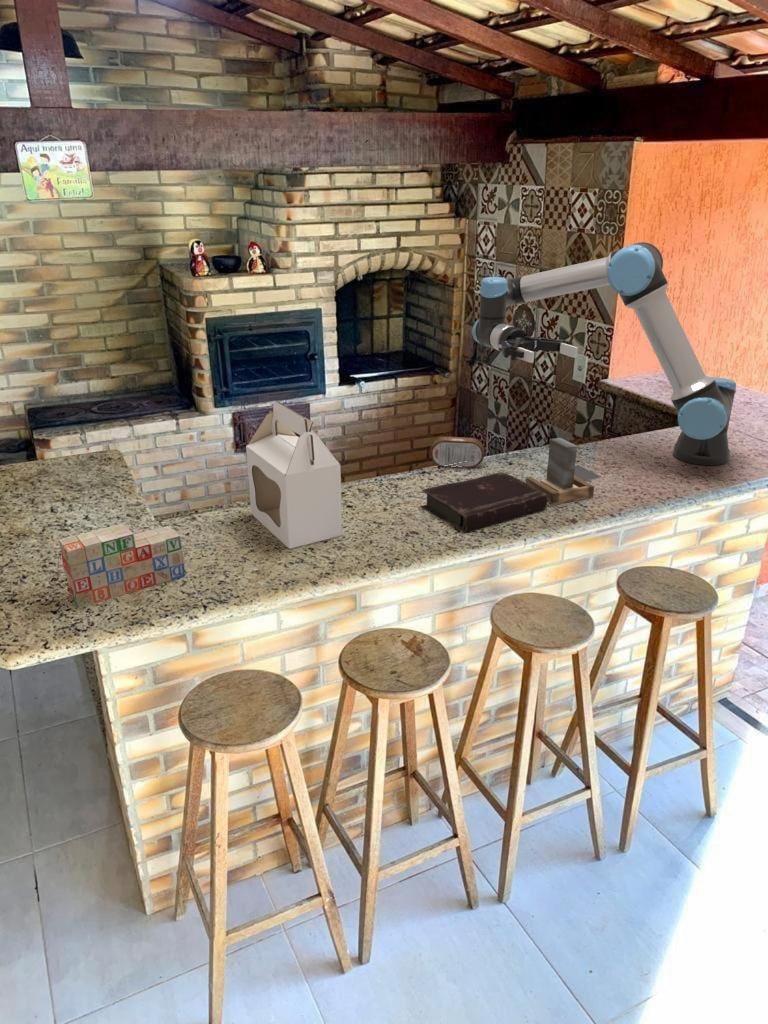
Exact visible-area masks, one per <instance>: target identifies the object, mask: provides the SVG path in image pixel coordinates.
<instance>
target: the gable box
mask: <svg viewBox="0 0 768 1024" xmlns="http://www.w3.org/2000/svg"><path fill="white" fill-rule="evenodd" d="M272 403H273V406H272V407H273V408H272V410H269V412H268V413H267V414H266V415H265V416H264V418H263V420H262V421H261V422H260V424H259V425H258V427H257V429H256V430H255V431H254V434H253V435H252V437H251V438H250V440H249V441H248V443H247V445H246V447H245V450H246V460H247V461H246V462H247V463H246V464H247V473H248V476H247V477H248V489H249V497H250V498H249V500H250V501H249V502H250V512H251V515H252V516H253V517H254V518H255V519H256V520H257V521H258V522H259V523H260V524H262V525H263V526H264V527H265V528H266V529H267V530H268V531H269V532H270V533H272V535H273V536H274V537H276V538H277V539H278V541H280V542H281V543H282V544H284V546H286V548H288V549H289V550H291V549H296V548H298V547H303V546H306V545H311V544H314V543H318V542H321V541H322V542H323V541H327V540H330V539H333V538H334V539H335V538H337V537H341V536H342V535H343V524H342V523H343V521H342V517H343V516H342V485H341V484H342V478H341V477H342V476H341V473H342V471H341V463H340V461H338V460H337V459H336V458H335V457H334V455H333V454H332V453H331V451H330V450H329V448H328V447H327V446H326V445H325V444H324V442H323V441H322V439H321V438H320V437H319V436H318V434H317V433H315V432H314V431H311V429H312V427H313V424H314V421H312V420H310V419H309V418H307V417H305V416H304V415H303V414H300V413H298V412H297V411H295V410H294V409H292V408H290V407H289V406H287V405H285V404H283V403H282V402H280V401H279V400H274V401H273V402H272ZM296 434H298V435H299V436H297V435H296ZM311 461H312V462H313V464H311Z"/></svg>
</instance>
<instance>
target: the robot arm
mask: <svg viewBox="0 0 768 1024" xmlns="http://www.w3.org/2000/svg"><path fill="white" fill-rule="evenodd" d="M663 268H664V259H663V255H662V252H661V251H660V250H659V249H658V248H657V246H655V245H654V244H652V243H649V242H641V241H640V242H635V243H632V244H629V245H626V246H624V247H622V248H621V249H619V250H615V251H611V252H610V253H609V254H608V256H606V257H602V258H597V259H592V260H589V261H584V262H580V263H576V264H571V265H566V266H562V267H557V268H554V269H549V270H546V271H541V272H539V271H538V272H536V273H531V274H528V275H527V274H526V275H523V276H519V277H515V278H514V277H511V278H510V277H509V278H506V277H503V276H502V277H501V276H489V277H483V278H482V280H481V283H480V289H479V294H480V295H479V297H480V298H479V317H478V319H477V320H476V321H475V322H474V324H473V327H472V329H471V335H472V339H473V340H474V341H475V342H477V343H478V344H480V345H482V346H484V347H487V348H491V349H494V350H496V351H499V352H501V354H502V356H503V357H504V358H509V357H510V360H511V361H516V360H517V359H519V360H522V361H523V362H527V363H530V364H533V363H534V361H535V359H534V358H535V353H536V352H540V351H543V352H544V351H547V352H557V353H559V354H561V355H564V356H567V357H569V358H570V357H571V358H573V359H577V358H578V355H579V354H578V353H579V352H578V351H579V347H578V346H574V345H571V344H570V341H568V340H566V339H562V340H561V339H553V338H548V337H547V338H546V337H543V336H542V337H541V336H537V337H532V336H528V334H527V332H526V331H525V330H524V329H522V328H519V327H516V326H514V325H510V324H506V315H507V308H509V307H511V306H515V305H519V304H524V303H528V302H533V301H538V300H544V299H548V298H554V297H558V296H564V295H569V294H572V293H577V292H578V293H579V292H582V291H588V290H592V289H598V288H602V287H607V286H610V287H611V288H612V290H614V292H615V293H617V294H618V296H619V297H620V299H621V301H622V303H623V305H624V307H625V308H629V309H631V310H634V313H635V315H636V317H637V319H638V320H639V323H640V324H641V327H642V329H643V331H644V334H645V335H646V338H647V339H648V342H649V343H650V345H651V347H652V349H653V352H654V354H655V356H656V358H657V359H658V362H659V365H660V367H661V368H662V370H663V372H664V374H665V376H666V378H667V380H668V382H669V385H670V386H671V388H672V394H671V396H670V400H671V404H672V405H673V407H674V408H675V409H674V410H676V413H677V423H678V427H679V429H680V430H681V432H680V434H679V436H678V438H677V440H676V442H675V444H674V446H673V449H672V455H673V456H674V457H675V458H676V459H678V460H680V461H682V462H684V463H685V462H686V463H689V464H694V465H698V466H699V465H701V466H722V465H724V464H726V463H729V460H730V455H731V450H730V449H729V439H728V430H729V425H730V421H731V416H732V410H733V404H734V400H735V394H736V393H737V389H736V388H737V382H736V381H734V380H732V379H729V378H726V377H725V378H723V377H718V376H717V377H716V376H708V375H706V374H705V371H704V369H703V367H702V366H701V363H700V362H699V360H698V357H697V355H696V352H695V351H694V349H693V347H692V345H691V342H690V341H689V337H688V336H687V334H686V332H685V330H684V328H683V327H682V324H681V322H680V320H679V318H678V316H677V313H676V311H675V309H674V308H673V305H672V303H671V301H670V300H669V297H668V295H667V289H668V286H669V282H668V280H667V278H666V276H665V274H664V271H663ZM535 347H536V348H535Z"/></svg>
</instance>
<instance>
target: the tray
mask: <svg viewBox="0 0 768 1024" xmlns="http://www.w3.org/2000/svg"><path fill="white" fill-rule="evenodd" d="M525 483H527V484H528V485H530V486H532V487H534V488H536V489H538V490H540V491H542V492H544V493H546V494H547V504H548V503H549V504H550V505H551V506H554V505H555V506H556V505H562V504H566V503H570V502H571V503H572V502H575V501H582V500H586V499H590V498H594V492H595V486H594V485H593V484H591V483H589V482H587V481H586V480H585V481H583V480H582V479H580V478H578V477H576V476H574V480H573V484H574V485H576V486H577V487H578V488H573V489H568V490H563V491H558V492H557V491H555V490H553V489H551V488H550V487H548V486H546V485H545V484H543V483H541V482H540V481H539V480H538V479H536V478H535V477H533V476H528V477H527V476H526V477H525Z"/></svg>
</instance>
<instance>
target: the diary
mask: <svg viewBox="0 0 768 1024" xmlns="http://www.w3.org/2000/svg"><path fill="white" fill-rule="evenodd" d="M421 492H422V493H424V494H426V504H423V505H421V506H420V508H422V507H423V510H426V511H427V512H429V511H430V513H431V514H433V515H435V516H436V517H438V518H440V519H442V520H443V521H449V522H451V523H452V524H454V525H456V526H458V527H461V528H462V529H464V530H463V533H467V532H468V533H469V532H471V531H475V530H477V529H481V528H484V526H485V527H487V525H488V526H491V524H492V525H495V524H498V522H499V523H502V522H506V521H509V520H513V519H515V517H516V518H519V517H522V516H525V515H529V514H532V513H535V512H540V511H545V510H547V505H548V502H547V494H546V493H544V492H542V491H540V490H538V489H536V488H534V487H532V486H530V485H528V484H527V483H526V481H523V480H521V479H520V478H516V477H515V476H512V475H510V474H507V473H505V472H501V471H499V472H495V473H491V474H488V475H484V476H480V477H479V476H478V477H476V478H471V479H468V480H464V481H458V482H451V483H444V484H439V485H437V486H432V487H428V488H425V489H421ZM512 518H513V519H512ZM508 519H509V520H508ZM505 520H506V521H505ZM501 521H502V522H501ZM494 523H495V524H494ZM461 528H459V530H461ZM474 529H475V530H474Z"/></svg>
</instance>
